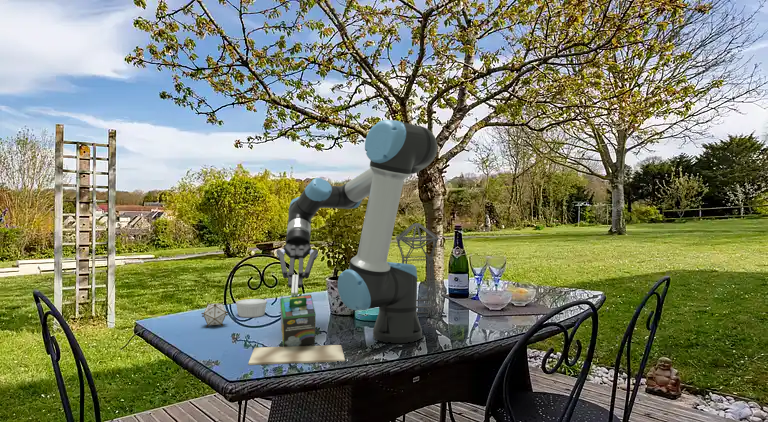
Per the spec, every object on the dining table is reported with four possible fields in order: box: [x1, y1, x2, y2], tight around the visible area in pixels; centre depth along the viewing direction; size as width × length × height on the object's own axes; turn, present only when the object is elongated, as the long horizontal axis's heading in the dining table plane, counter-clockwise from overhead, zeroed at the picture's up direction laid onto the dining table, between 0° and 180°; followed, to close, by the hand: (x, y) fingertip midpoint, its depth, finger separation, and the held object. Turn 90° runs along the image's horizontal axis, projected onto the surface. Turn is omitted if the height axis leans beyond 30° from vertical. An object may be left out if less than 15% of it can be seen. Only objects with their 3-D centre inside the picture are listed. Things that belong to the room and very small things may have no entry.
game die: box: [201, 301, 229, 328], centre depth 161 cm, size 9×8×10 cm
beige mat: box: [248, 344, 346, 366], centre depth 129 cm, size 24×14×1 cm, turn 99°
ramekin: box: [235, 298, 268, 319], centre depth 180 cm, size 11×11×5 cm
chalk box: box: [279, 294, 316, 347], centre depth 137 cm, size 9×9×15 cm
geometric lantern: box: [394, 222, 441, 316], centre depth 182 cm, size 16×16×35 cm
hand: (294, 295), depth 139 cm, fingers closed
